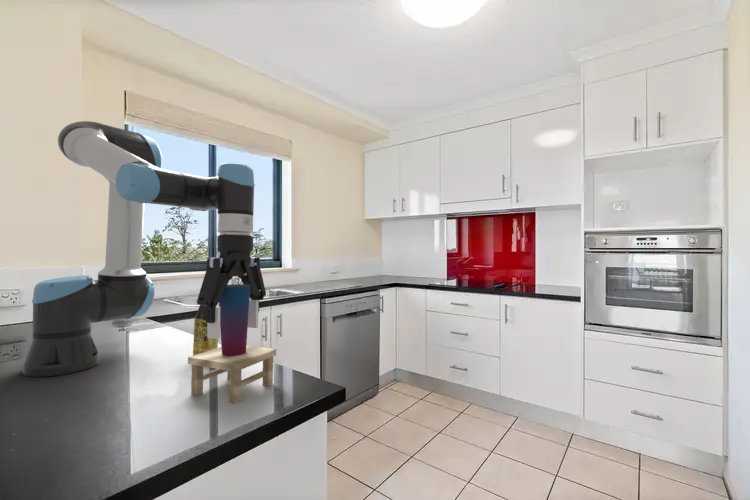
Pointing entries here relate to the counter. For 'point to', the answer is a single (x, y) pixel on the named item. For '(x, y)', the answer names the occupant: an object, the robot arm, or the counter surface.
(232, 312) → the cup
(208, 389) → the counter surface
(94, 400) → the counter surface
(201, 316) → the sauce bottle
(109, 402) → the counter surface
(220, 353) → the beige streaked flat-top fixture
